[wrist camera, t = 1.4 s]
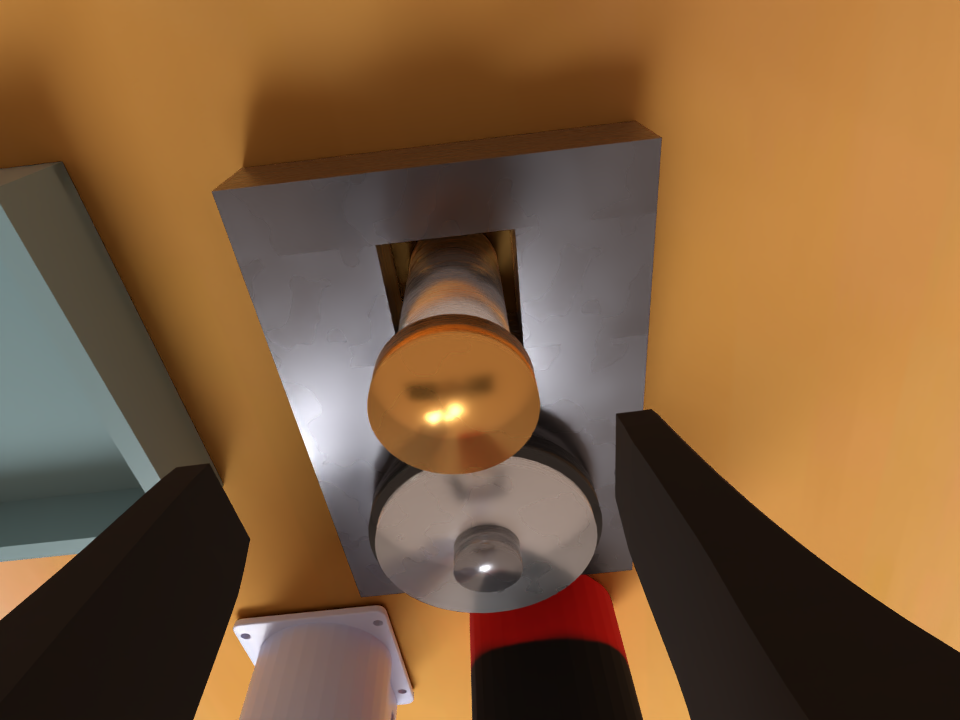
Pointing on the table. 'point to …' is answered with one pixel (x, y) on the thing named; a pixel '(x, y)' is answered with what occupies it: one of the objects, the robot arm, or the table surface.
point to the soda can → (552, 660)
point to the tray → (74, 377)
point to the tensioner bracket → (537, 325)
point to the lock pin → (453, 365)
